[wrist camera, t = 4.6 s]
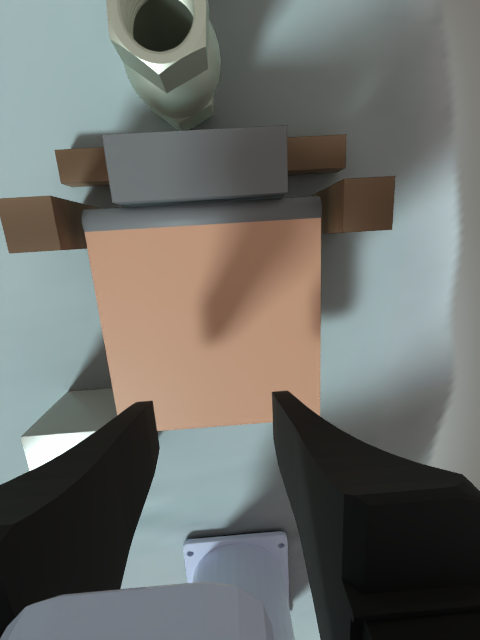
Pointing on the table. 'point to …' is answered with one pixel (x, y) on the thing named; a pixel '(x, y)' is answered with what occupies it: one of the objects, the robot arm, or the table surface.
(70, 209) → the frame
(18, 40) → the table surface
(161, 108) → the valve
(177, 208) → the trapdoor
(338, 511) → the robot arm
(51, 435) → the stone block
